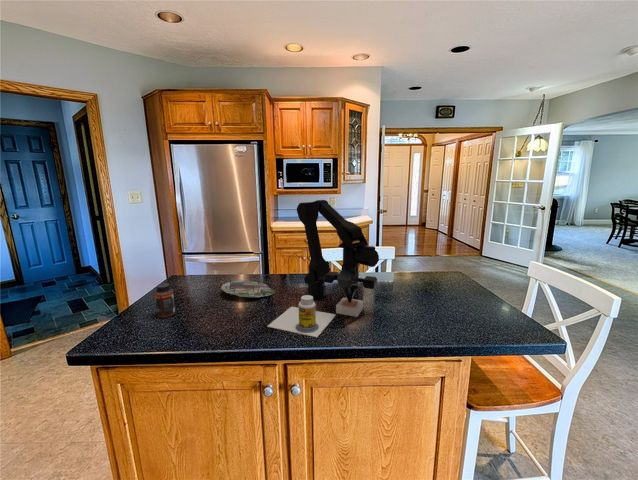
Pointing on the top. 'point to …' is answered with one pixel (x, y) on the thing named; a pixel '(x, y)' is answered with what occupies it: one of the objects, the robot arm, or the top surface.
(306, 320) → the supplement bottle
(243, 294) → the city model
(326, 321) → the drawing paper
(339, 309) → the button housing
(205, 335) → the top surface
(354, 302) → the button
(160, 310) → the supplement bottle
